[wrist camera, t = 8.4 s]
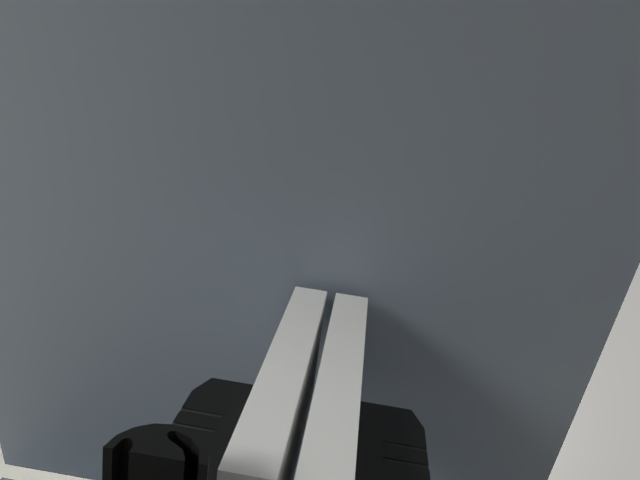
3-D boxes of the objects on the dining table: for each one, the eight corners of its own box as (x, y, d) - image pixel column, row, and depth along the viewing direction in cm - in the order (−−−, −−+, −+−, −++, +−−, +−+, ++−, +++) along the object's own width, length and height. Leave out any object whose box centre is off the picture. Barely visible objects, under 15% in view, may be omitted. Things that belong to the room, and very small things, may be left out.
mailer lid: (5, 463, 18) (18, 446, 19) (515, 555, 17) (511, 534, 18) (-254, -668, 8) (-205, -622, 8) (1006, -602, 7) (955, -556, 7)
